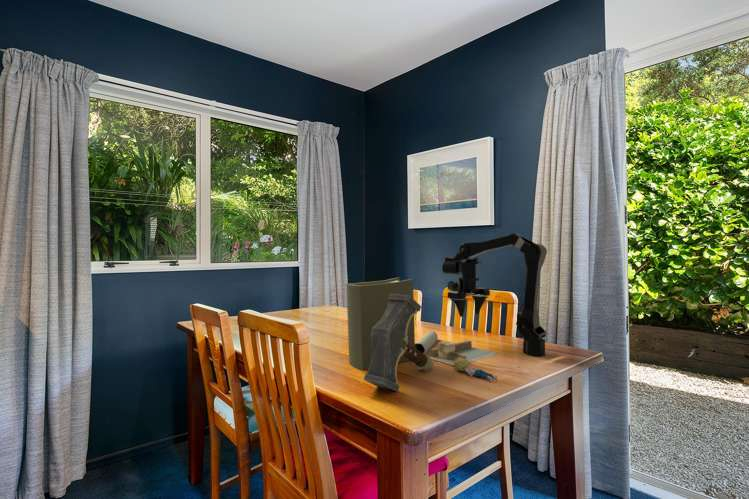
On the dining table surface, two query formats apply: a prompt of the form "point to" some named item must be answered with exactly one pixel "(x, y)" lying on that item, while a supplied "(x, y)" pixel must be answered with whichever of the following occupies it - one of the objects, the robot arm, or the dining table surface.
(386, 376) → the hammer
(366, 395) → the dining table surface
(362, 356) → the book
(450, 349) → the wooden block with peg
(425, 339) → the tube
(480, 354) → the board
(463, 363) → the figurine
